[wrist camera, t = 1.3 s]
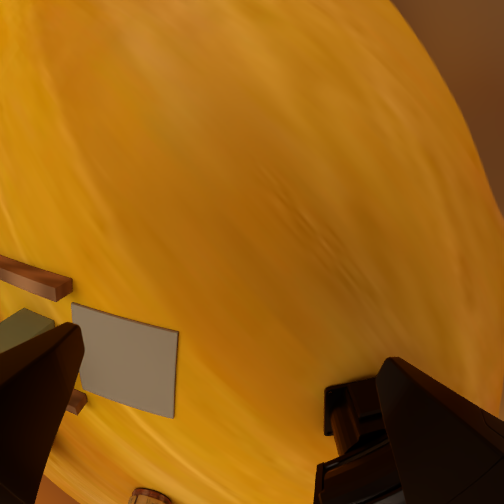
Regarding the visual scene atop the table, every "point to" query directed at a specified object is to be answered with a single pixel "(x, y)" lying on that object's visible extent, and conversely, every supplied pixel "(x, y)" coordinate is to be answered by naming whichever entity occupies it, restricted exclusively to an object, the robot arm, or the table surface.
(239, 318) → the table surface
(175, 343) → the felt mat
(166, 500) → the sauce bottle
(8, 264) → the frame
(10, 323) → the green block
